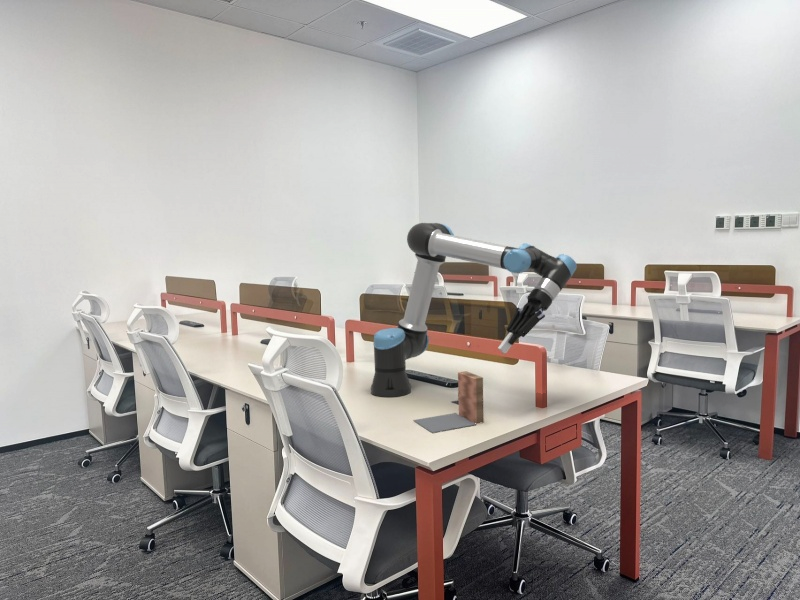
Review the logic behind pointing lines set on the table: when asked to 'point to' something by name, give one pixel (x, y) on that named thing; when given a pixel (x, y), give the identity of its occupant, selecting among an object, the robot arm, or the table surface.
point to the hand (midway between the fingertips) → (501, 350)
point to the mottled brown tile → (470, 396)
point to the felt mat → (444, 422)
